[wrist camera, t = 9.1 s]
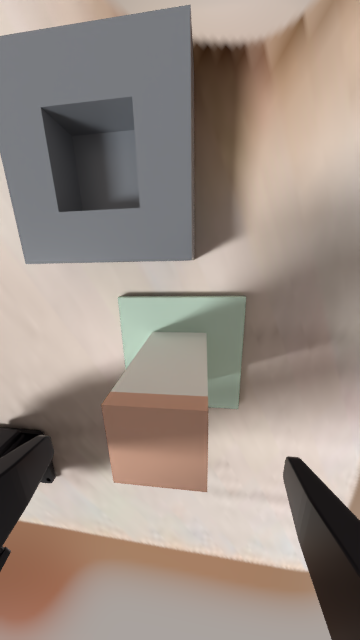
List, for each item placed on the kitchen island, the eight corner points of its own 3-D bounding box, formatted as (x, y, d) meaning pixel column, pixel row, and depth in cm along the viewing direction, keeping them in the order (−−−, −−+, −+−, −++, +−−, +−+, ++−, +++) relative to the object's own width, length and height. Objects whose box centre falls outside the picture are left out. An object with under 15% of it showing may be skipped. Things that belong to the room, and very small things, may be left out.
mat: (237, 403, 17) (238, 409, 16) (131, 398, 18) (129, 402, 17) (244, 295, 14) (246, 297, 14) (121, 296, 15) (117, 297, 15)
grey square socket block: (194, 259, 14) (191, 260, 11) (59, 262, 15) (25, 264, 12) (193, 68, 11) (190, 4, 8) (27, 90, 12) (-26, 40, 10)
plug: (205, 381, 16) (207, 492, 8) (155, 378, 17) (113, 482, 9) (206, 332, 15) (208, 410, 7) (152, 331, 15) (101, 404, 8)
